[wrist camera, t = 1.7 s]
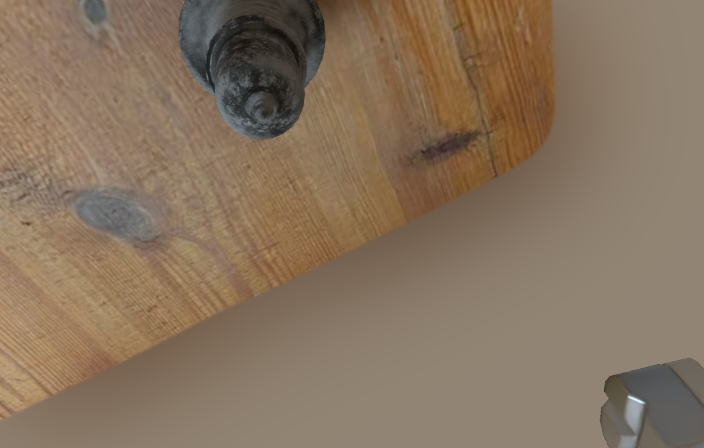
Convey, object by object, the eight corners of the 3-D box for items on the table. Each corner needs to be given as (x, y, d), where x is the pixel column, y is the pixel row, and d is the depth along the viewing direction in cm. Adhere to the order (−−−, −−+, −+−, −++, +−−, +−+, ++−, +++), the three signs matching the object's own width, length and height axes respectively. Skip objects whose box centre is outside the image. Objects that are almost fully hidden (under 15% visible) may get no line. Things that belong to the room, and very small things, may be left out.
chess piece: (297, -68, 26) (340, -13, 16) (327, 64, 29) (379, 178, 19) (163, -34, 26) (120, 42, 16) (209, 94, 29) (198, 227, 19)
